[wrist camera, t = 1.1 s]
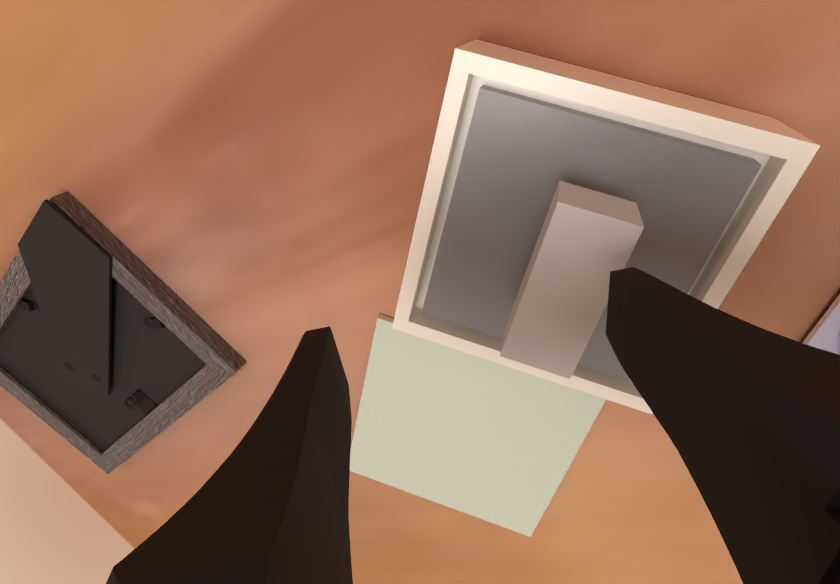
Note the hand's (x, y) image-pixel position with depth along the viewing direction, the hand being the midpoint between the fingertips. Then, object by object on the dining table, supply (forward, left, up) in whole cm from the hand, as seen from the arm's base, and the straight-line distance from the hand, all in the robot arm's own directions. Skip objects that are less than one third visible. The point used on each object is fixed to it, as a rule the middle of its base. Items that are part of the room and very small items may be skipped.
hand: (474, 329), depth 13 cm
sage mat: (-1, +14, -11) cm, 18 cm away
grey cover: (-2, 0, -8) cm, 8 cm away
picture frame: (+23, +18, -11) cm, 31 cm away
